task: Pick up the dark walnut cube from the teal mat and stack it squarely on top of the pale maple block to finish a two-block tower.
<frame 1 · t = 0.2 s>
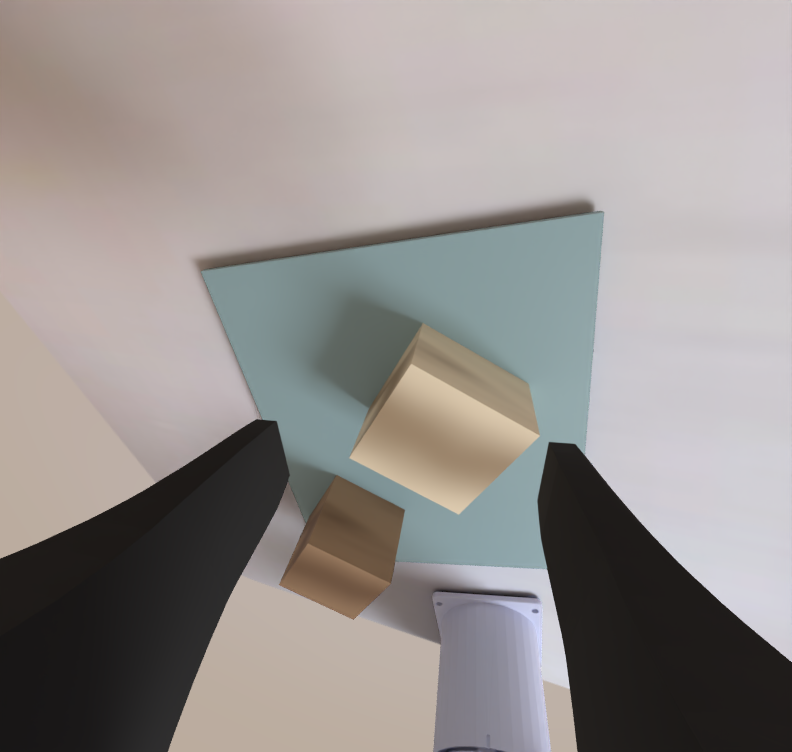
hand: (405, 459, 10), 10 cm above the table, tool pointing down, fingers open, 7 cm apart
maple block: (443, 396, 20), resting on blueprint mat
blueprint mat: (415, 437, 23), on the table
walnut cube: (355, 513, 26), resting on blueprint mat
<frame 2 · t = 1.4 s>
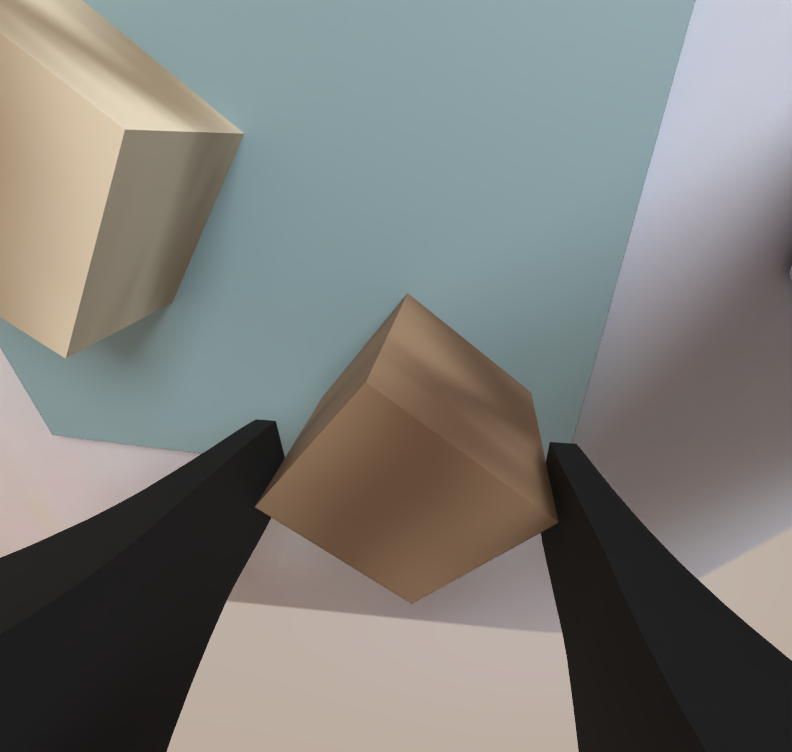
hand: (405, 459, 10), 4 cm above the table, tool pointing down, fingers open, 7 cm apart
maple block: (109, 158, 11), resting on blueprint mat
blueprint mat: (231, 232, 12), on the table
walnut cube: (420, 394, 13), resting on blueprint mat, touching gripper
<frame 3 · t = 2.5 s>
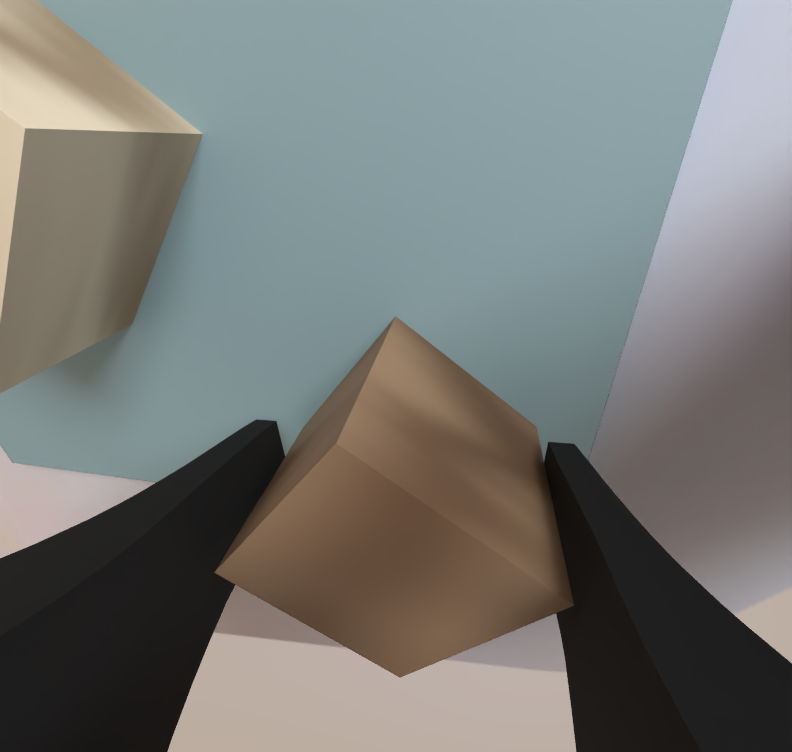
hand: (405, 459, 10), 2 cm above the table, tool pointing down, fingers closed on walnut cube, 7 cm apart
maple block: (52, 162, 10), resting on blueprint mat
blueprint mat: (195, 246, 10), on the table
walnut cube: (412, 426, 12), resting on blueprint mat, touching gripper
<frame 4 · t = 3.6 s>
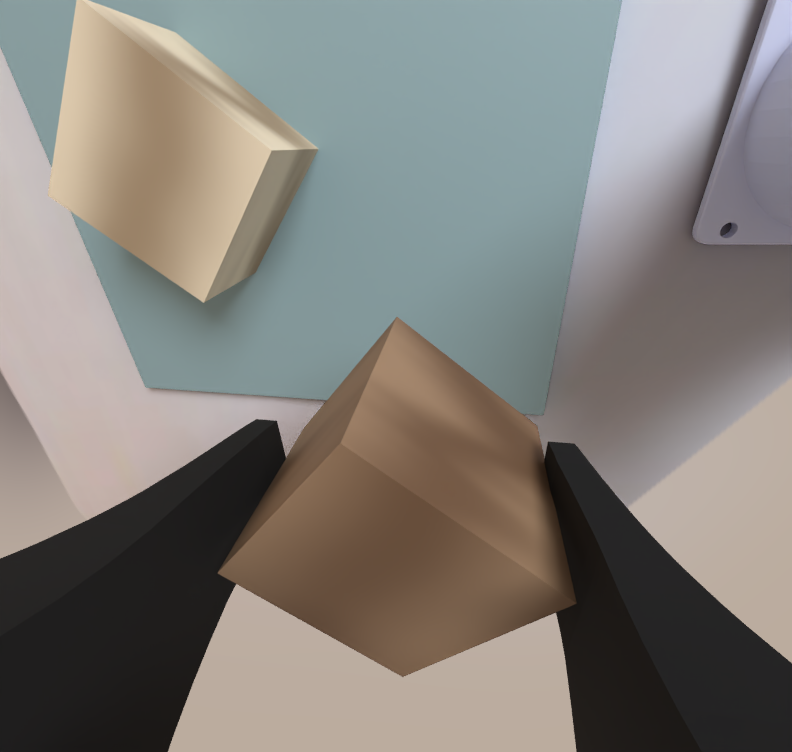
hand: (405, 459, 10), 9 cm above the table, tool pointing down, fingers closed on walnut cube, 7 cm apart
maple block: (220, 168, 16), resting on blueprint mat
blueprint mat: (302, 218, 17), on the table
walnut cube: (413, 426, 12), point 7 cm above the table, touching gripper
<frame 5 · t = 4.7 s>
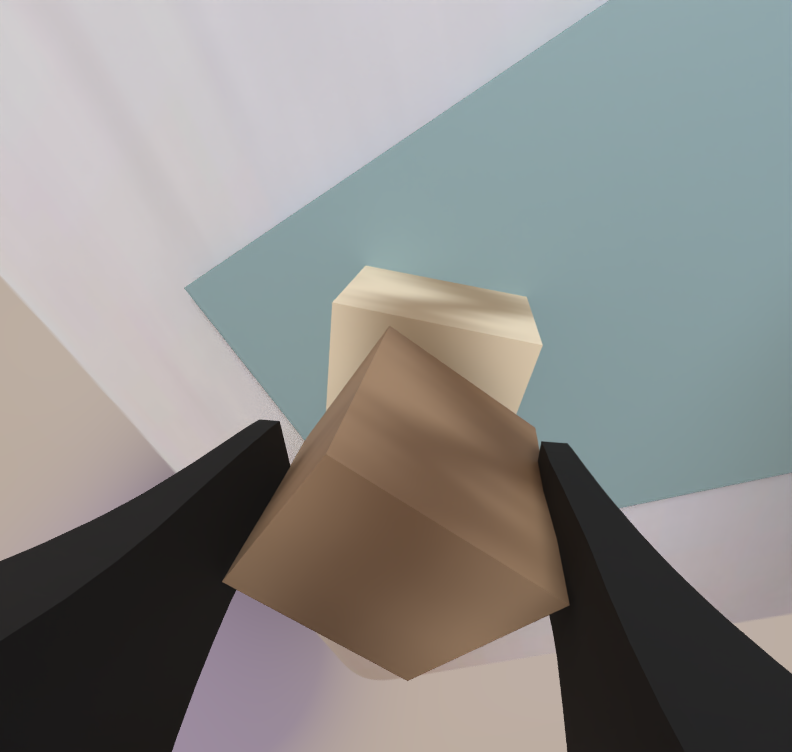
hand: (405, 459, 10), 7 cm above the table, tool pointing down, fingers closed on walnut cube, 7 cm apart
maple block: (429, 352, 16), resting on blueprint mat
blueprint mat: (519, 360, 16), on the table
walnut cube: (412, 432, 12), point 5 cm above the table, touching gripper
when the fingers open (7 cm above the table, at t = 5.3 s): walnut cube stays where it is, resting on maple block.
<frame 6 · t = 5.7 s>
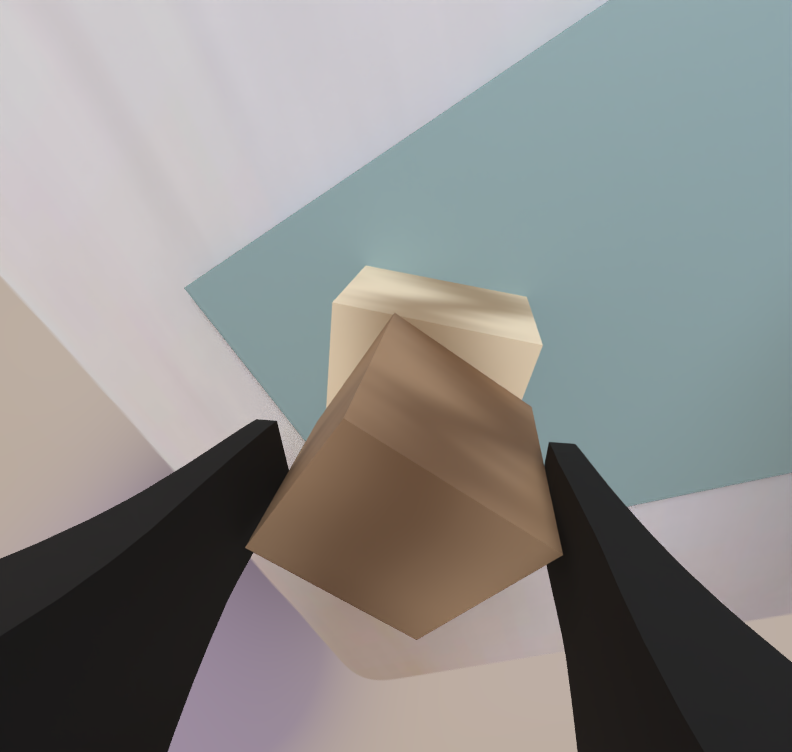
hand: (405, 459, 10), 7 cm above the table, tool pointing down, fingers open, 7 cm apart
maple block: (429, 352, 16), resting on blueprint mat, touching walnut cube
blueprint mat: (519, 360, 16), on the table
walnut cube: (416, 414, 13), point 4 cm above the table, touching gripper, maple block
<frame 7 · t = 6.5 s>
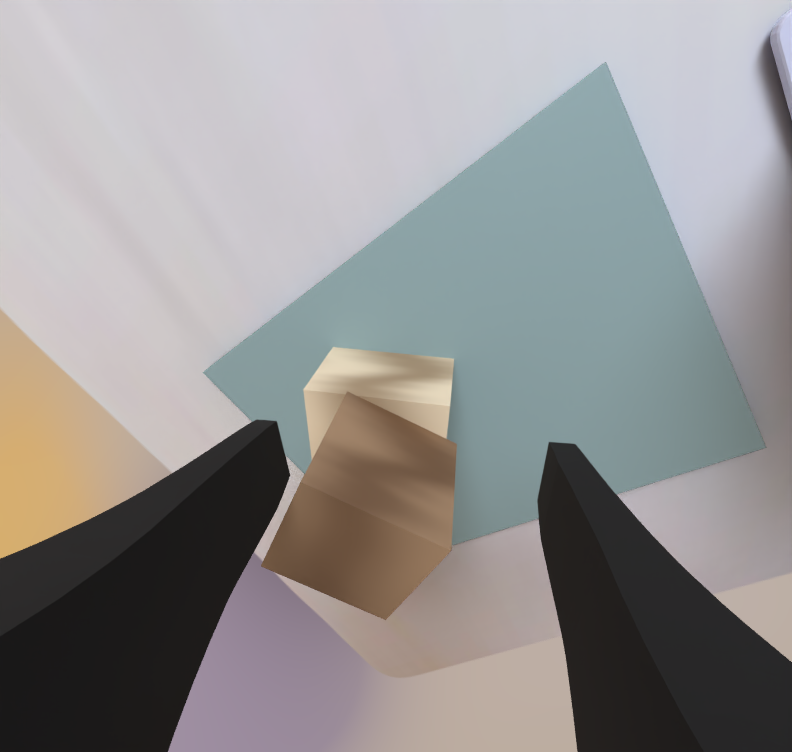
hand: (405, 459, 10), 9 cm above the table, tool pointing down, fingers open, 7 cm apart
maple block: (391, 403, 21), resting on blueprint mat, touching walnut cube
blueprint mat: (460, 402, 20), on the table
walnut cube: (378, 457, 17), point 4 cm above the table, touching maple block
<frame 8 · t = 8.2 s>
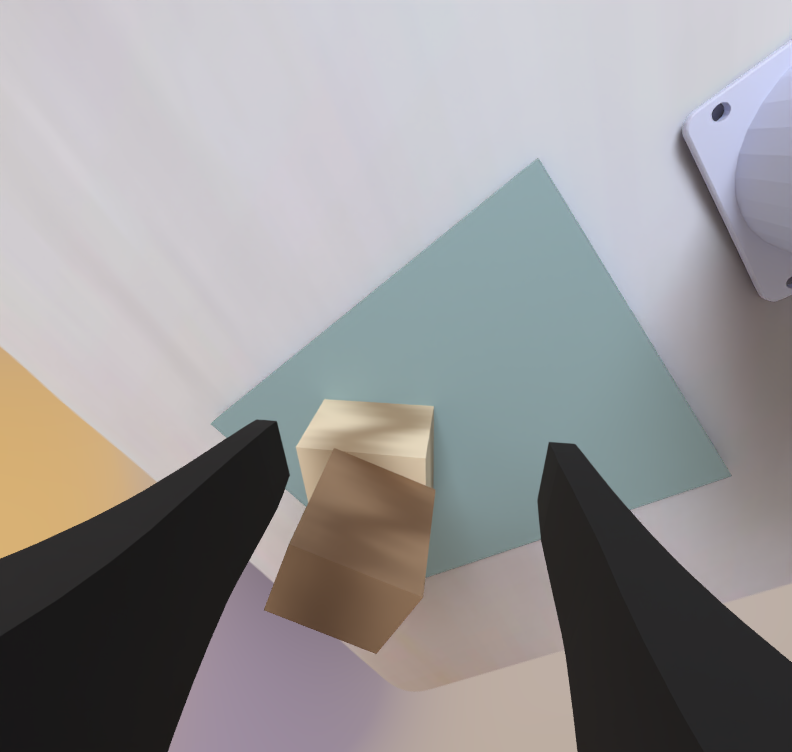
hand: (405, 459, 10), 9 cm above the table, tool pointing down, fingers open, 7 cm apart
maple block: (381, 445, 22), resting on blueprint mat, touching walnut cube
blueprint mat: (444, 442, 22), on the table
walnut cube: (367, 501, 19), point 4 cm above the table, touching maple block
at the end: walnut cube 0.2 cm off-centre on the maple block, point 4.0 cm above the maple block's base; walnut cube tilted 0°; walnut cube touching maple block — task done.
